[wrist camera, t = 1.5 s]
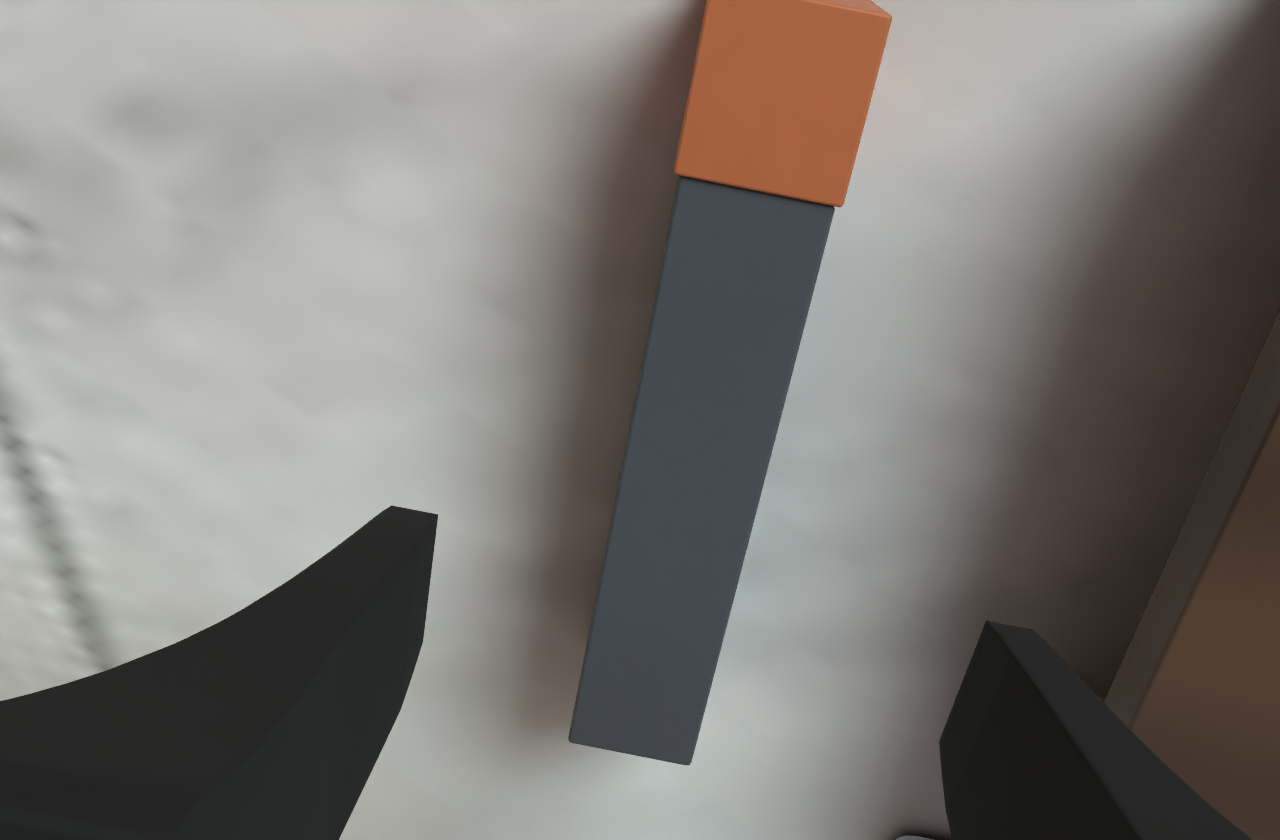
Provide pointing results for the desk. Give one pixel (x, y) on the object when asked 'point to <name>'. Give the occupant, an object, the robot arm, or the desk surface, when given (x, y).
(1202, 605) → the shelf
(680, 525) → the marker
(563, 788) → the desk surface
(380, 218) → the desk surface
